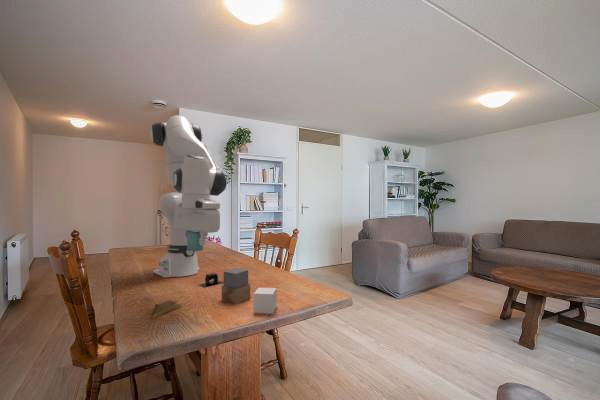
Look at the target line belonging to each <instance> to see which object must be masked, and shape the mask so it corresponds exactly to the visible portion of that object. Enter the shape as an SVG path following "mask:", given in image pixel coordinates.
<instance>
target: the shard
mask: <svg viewBox="0 0 600 400" xmlns="http://www.w3.org/2000/svg"><path fill="white" fill-rule="evenodd" d="M181 307H182V303H181V302H179V301H177V300H172V299H167V300H165V301H162V302H160V303H155V306H154V308H153V310H152V314H151V317H152V319H155V318H157V317H160V316H161V315H163V314H166V313H168V312H171V311H174V310H176V309H179V308H181ZM154 317H155V318H154Z"/></svg>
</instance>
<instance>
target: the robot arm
mask: <svg viewBox="0 0 600 400" xmlns="http://www.w3.org/2000/svg"><path fill="white" fill-rule="evenodd" d="M149 135H150V137H149V138H150V139H151V141H152V142H153V144H154V145H155V146H158V147H165V148H166V149H165V165H166V166H165V167H166V177H167V182H168V183H169V184H170V185H171V186H172V188H173V189H174V191H173V192H167V193H164V194H162V195H161V196H160V198H158V203H157V204H158V209H159V211H160V213H162V214H163V216H165V218H166V221H167V223H168V228H169V245H168V246H166V247H167V252H166V253H165V255H163V257H162V258H160V260H159V262H158V268H156V269H153V273H154V274H156V275H158V276H160V277H162V278H181V277H187V276H193V275H195V274H198V273H199V271H200V270H201V269H200V267H199V264H198V254H197V252H196V251H187V232H193V231H199V232H200V235H201V236H200V239H199V240H198V245H203V246H205V245H206V239H207V238H208V235H209V233H211V234H213V233H218V232H219V231H220V229H221V227H220V226H221V215H220V214H221V213H220V210H219V209H220V208H221V203H220V202H219V201H217V200H215V199H213V198H212V197H211V196H215V197H218V196H220V195H221V194H222V193H223V192H224V191H225V190H226V188H227V184H228V183H227V178H226V175H225V173H224V172H223V171H222V170H221V168H220V167H219V166H218V164H217V162H216V159H215V158H214V156H213V155H212V153H211V151H210V150H209V148H208V146H207V145H206V144H205V143H203V142H202V140H203V130H202V129H201V126H200V125H199V124H196V123H190V121H189V120H188V119H187V118H186V117H185V116H184V115H177V114H175V115H172V116H170V117H169V118H168V120H167V121H166V122H161V121H160V122H155V123H153V124H152V125H151V127H150V130H149Z"/></svg>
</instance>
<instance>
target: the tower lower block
mask: <svg viewBox="0 0 600 400" xmlns="http://www.w3.org/2000/svg"><path fill="white" fill-rule="evenodd" d="M248 299H251V283H248V284H247V285H244V286H242V287H239V288H237V289H236V288H231V287H226V286H224V284H223V285H221V300H222V301H225V302H229V303H231V304H240V303H241V302H244V301H246V300H248Z"/></svg>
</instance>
